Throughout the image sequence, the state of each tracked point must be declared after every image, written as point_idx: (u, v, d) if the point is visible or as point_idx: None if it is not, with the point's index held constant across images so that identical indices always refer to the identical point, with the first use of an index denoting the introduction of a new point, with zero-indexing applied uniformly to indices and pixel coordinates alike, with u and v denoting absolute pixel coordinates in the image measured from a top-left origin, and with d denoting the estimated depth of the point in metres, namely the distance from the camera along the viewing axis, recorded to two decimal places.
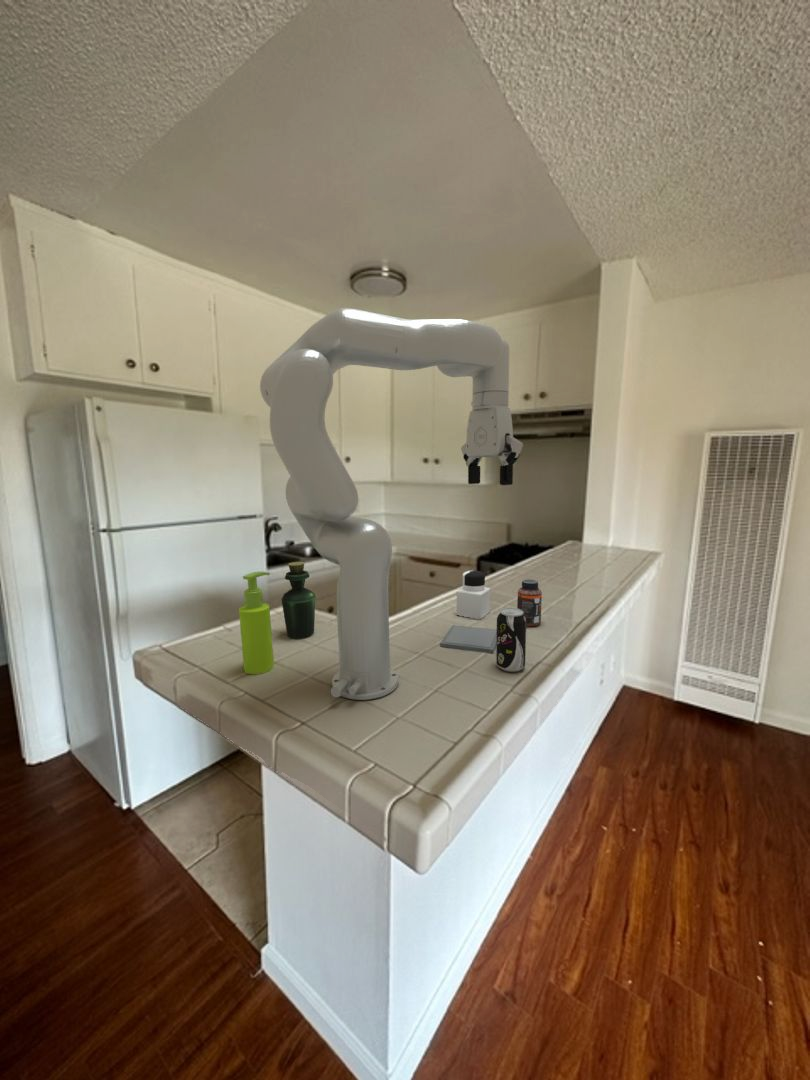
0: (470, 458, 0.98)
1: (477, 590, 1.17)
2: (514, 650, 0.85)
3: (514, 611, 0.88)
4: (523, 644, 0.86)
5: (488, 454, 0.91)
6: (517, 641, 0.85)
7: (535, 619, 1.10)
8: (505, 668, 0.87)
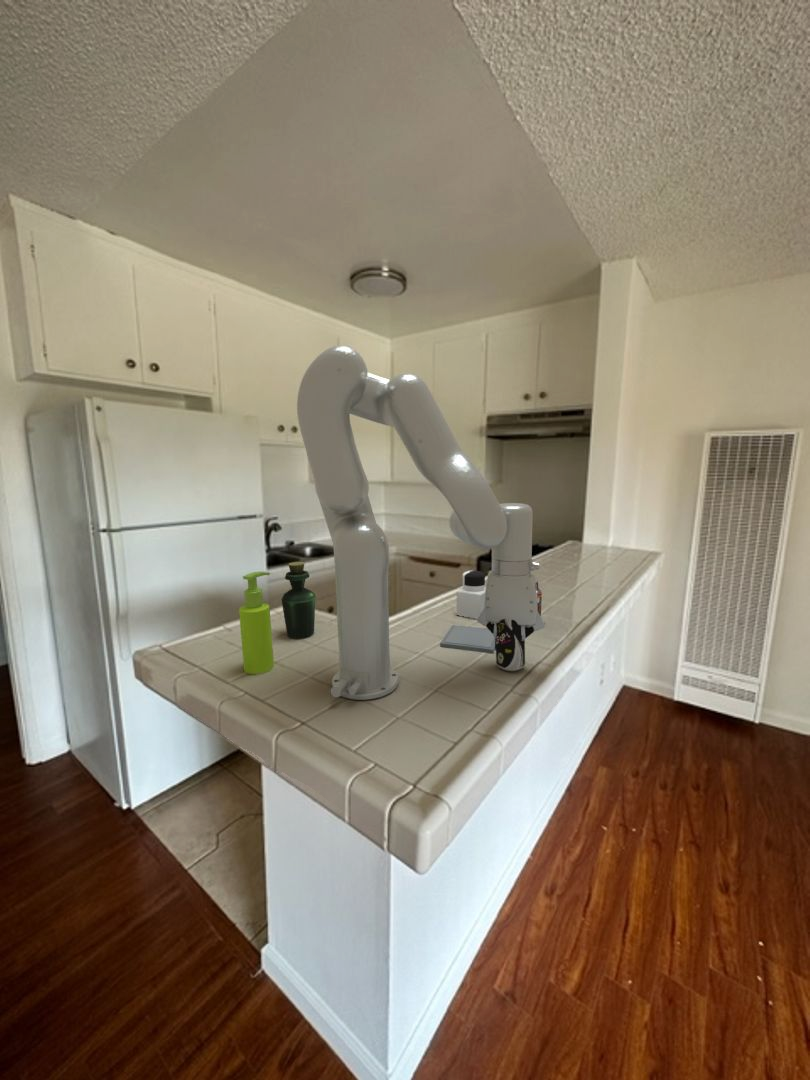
0: None
1: (477, 590, 1.17)
2: (513, 650, 0.86)
3: None
4: (522, 643, 0.86)
5: None
6: (516, 640, 0.85)
7: None
8: (505, 667, 0.87)
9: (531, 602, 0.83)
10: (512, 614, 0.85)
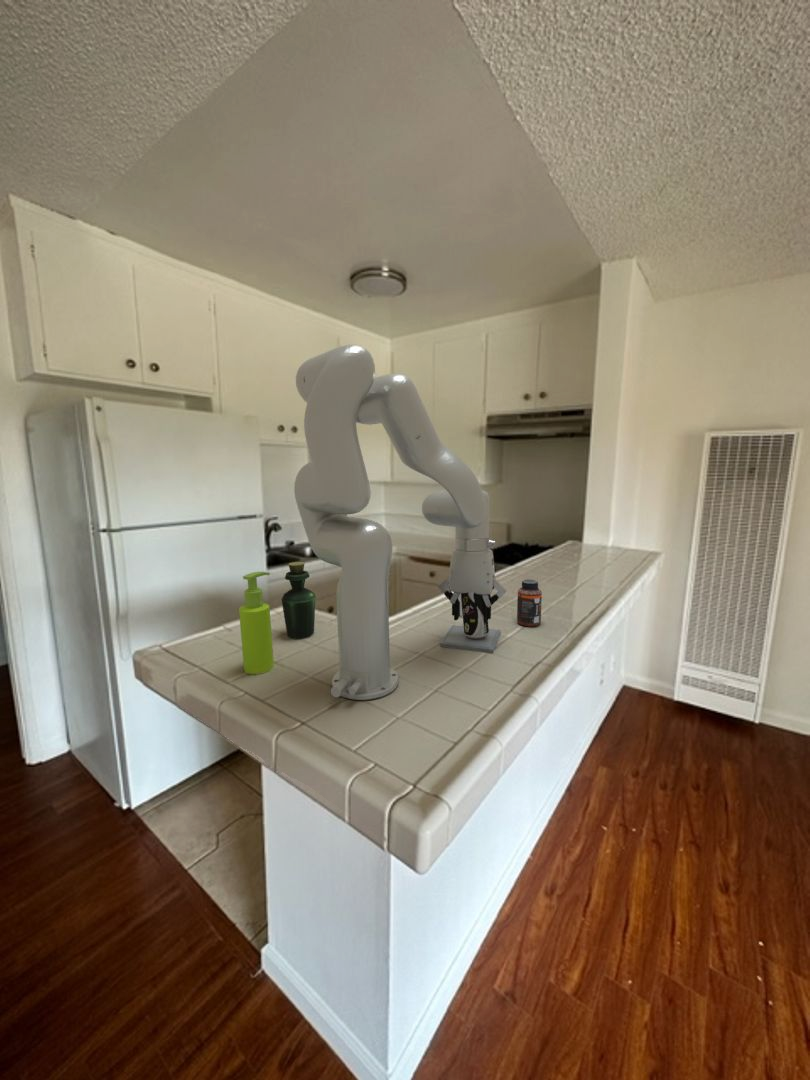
0: None
1: None
2: (476, 619, 1.00)
3: None
4: None
5: None
6: (478, 611, 0.99)
7: (535, 619, 1.10)
8: (471, 635, 1.01)
9: (488, 574, 0.97)
10: (472, 585, 0.99)
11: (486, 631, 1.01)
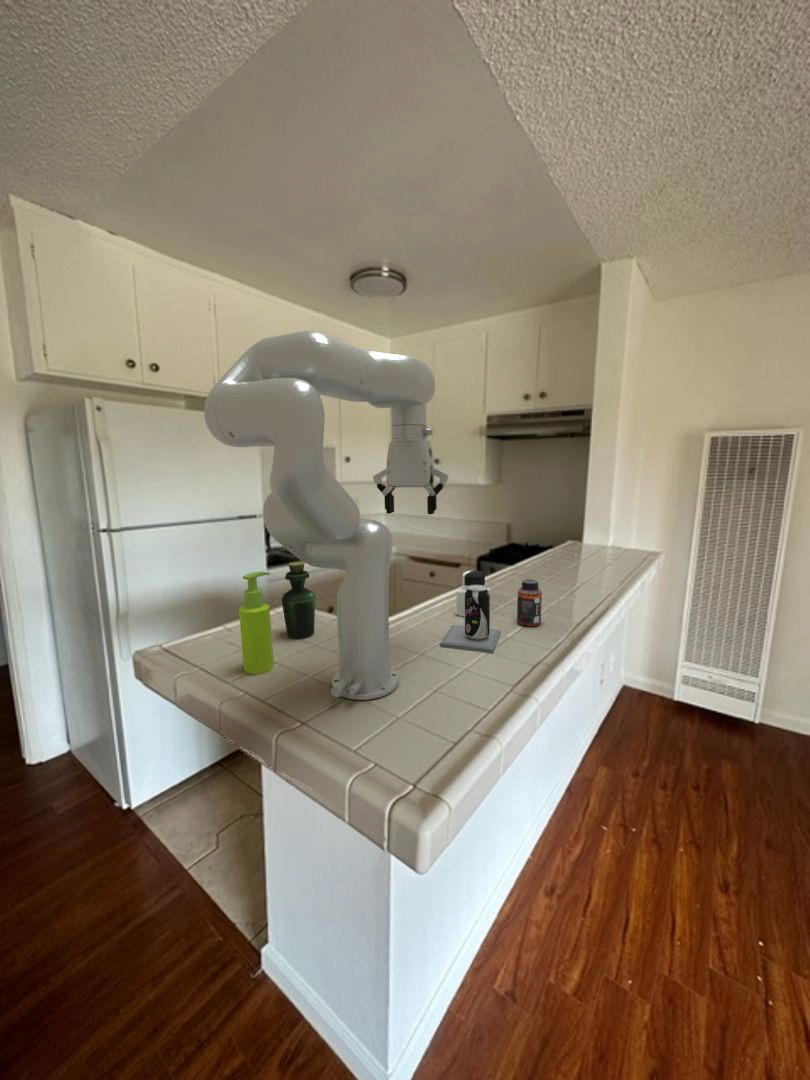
0: None
1: None
2: (479, 621, 0.99)
3: (480, 587, 1.02)
4: (487, 615, 1.00)
5: None
6: (481, 612, 0.99)
7: (535, 619, 1.10)
8: (471, 636, 1.01)
9: (424, 463, 0.93)
10: (409, 476, 0.94)
11: (487, 633, 1.01)
